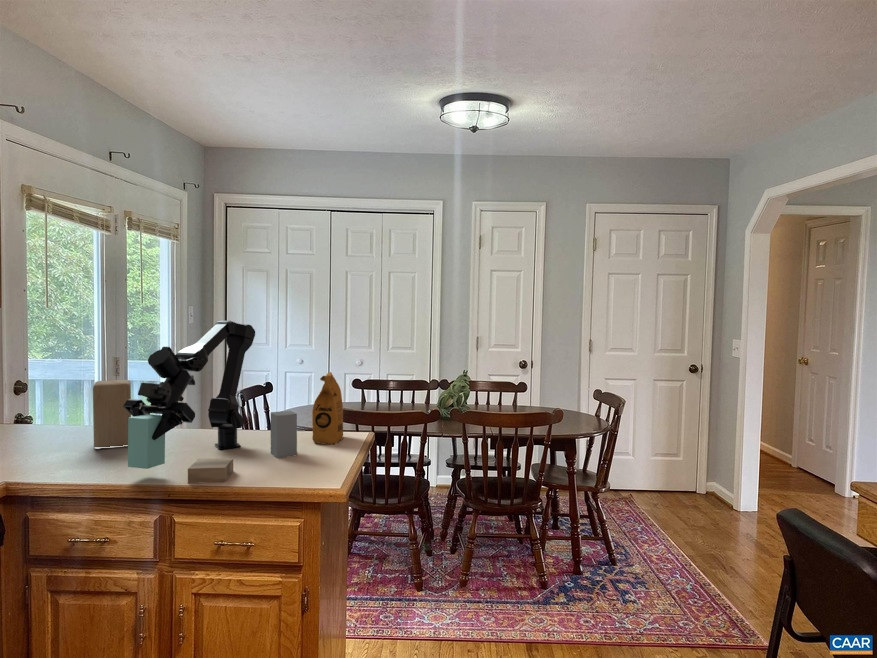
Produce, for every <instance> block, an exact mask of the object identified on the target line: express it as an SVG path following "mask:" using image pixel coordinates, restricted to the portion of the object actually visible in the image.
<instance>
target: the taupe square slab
mask: <svg viewBox="0 0 877 658" xmlns="http://www.w3.org/2000/svg"><path fill="white" fill-rule="evenodd" d="M233 473H234V458H233V457H226V458H198V459H197V460H196V461H195V462H193V463H192V464H191V465H190V466H189V467H188V468H187V484H200V483H199V482H206V483H210V484H211V483H212V484H213V483H226V482H227V480H228V479H229V478H230V477H231V475H232V474H233Z"/></svg>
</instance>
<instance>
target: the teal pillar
mask: <svg viewBox="0 0 877 658" xmlns="http://www.w3.org/2000/svg"><path fill="white" fill-rule="evenodd" d="M161 419H162V414H152V413H150V414H145V415H140V416H134V417H133V416H131V417H129V418H128V447H127V468H136V469H144V470H145V469H146V470H148V469H152V468H154V467H157V466H161V465H164V464H165V463H166V462H165V459H166V433H165V434H163V435H162V436H160V437H159V438H157V439H156V440H153V439H152V436H153V434H154V432H155V430H156V428H157V426H158V424H159V423H160V421H161Z"/></svg>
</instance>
